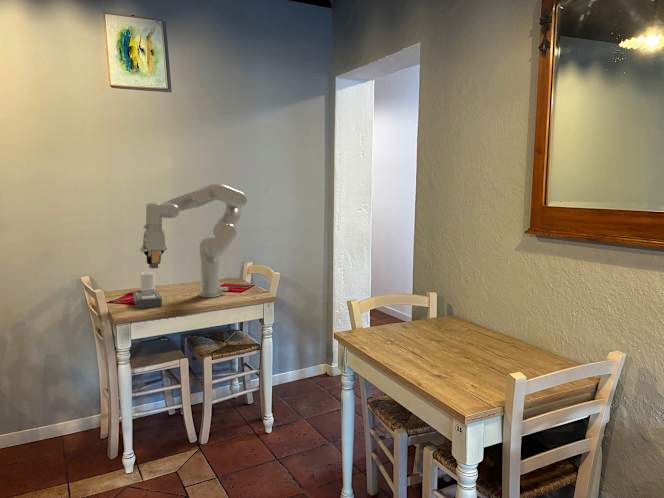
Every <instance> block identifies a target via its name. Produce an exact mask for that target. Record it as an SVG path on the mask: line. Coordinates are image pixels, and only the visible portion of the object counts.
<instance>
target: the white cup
mask: <svg viewBox="0 0 664 498" xmlns="http://www.w3.org/2000/svg"><path fill="white" fill-rule="evenodd" d="M139 276H140V277H139V278H140V287H141V289H152V288H154V291H156V290H155V289H156V288H155V287H156V272H155V271H143V272H141V273H139Z"/></svg>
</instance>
